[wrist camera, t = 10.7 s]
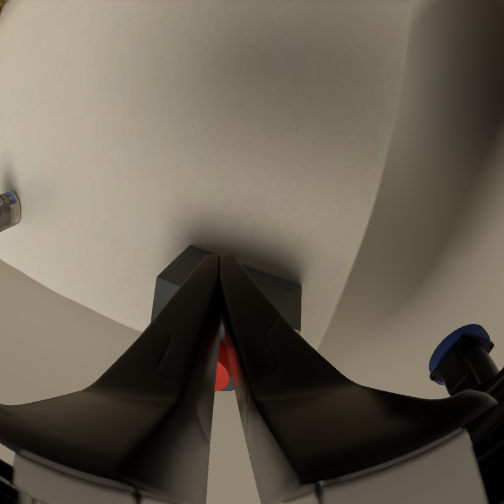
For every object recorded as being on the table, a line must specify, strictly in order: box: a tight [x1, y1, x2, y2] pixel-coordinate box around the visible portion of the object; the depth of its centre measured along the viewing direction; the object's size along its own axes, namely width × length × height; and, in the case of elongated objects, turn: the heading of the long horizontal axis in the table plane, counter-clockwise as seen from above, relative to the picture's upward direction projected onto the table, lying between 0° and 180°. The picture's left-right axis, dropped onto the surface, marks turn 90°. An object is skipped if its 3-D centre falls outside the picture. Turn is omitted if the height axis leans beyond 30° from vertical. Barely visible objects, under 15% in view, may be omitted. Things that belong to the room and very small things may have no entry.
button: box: [215, 340, 232, 391], centre depth 16 cm, size 4×4×2 cm
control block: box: [151, 245, 302, 391], centre depth 21 cm, size 10×7×8 cm
